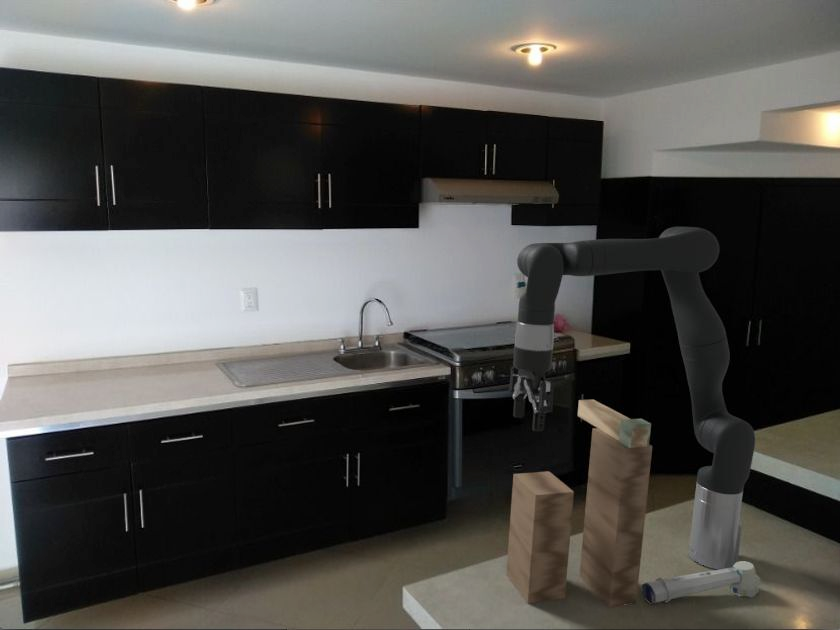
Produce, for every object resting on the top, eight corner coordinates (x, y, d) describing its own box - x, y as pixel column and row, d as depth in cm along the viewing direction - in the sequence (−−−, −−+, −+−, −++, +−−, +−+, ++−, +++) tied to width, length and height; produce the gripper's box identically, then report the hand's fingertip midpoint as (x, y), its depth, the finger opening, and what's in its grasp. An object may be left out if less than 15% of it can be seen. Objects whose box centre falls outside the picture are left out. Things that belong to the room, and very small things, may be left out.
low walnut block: (541, 570, 132) (549, 471, 129) (564, 598, 122) (573, 491, 119) (506, 574, 130) (513, 474, 126) (527, 603, 120) (535, 495, 117)
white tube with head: (639, 576, 125) (748, 551, 130) (640, 606, 126) (748, 580, 131) (654, 591, 119) (767, 564, 125) (655, 622, 121) (766, 594, 126)
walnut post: (604, 572, 132) (618, 427, 127) (636, 603, 122) (652, 446, 117) (579, 575, 130) (592, 428, 126) (609, 607, 120) (624, 447, 115)
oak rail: (593, 415, 135) (595, 395, 134) (648, 446, 117) (651, 423, 116) (575, 416, 134) (577, 396, 133) (628, 447, 115) (630, 424, 115)
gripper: (569, 352, 118) (562, 434, 121) (533, 338, 132) (528, 412, 134) (533, 353, 116) (527, 436, 118) (501, 338, 129) (496, 414, 132)
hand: (527, 423), depth 126 cm, fingers open, 8 cm apart
